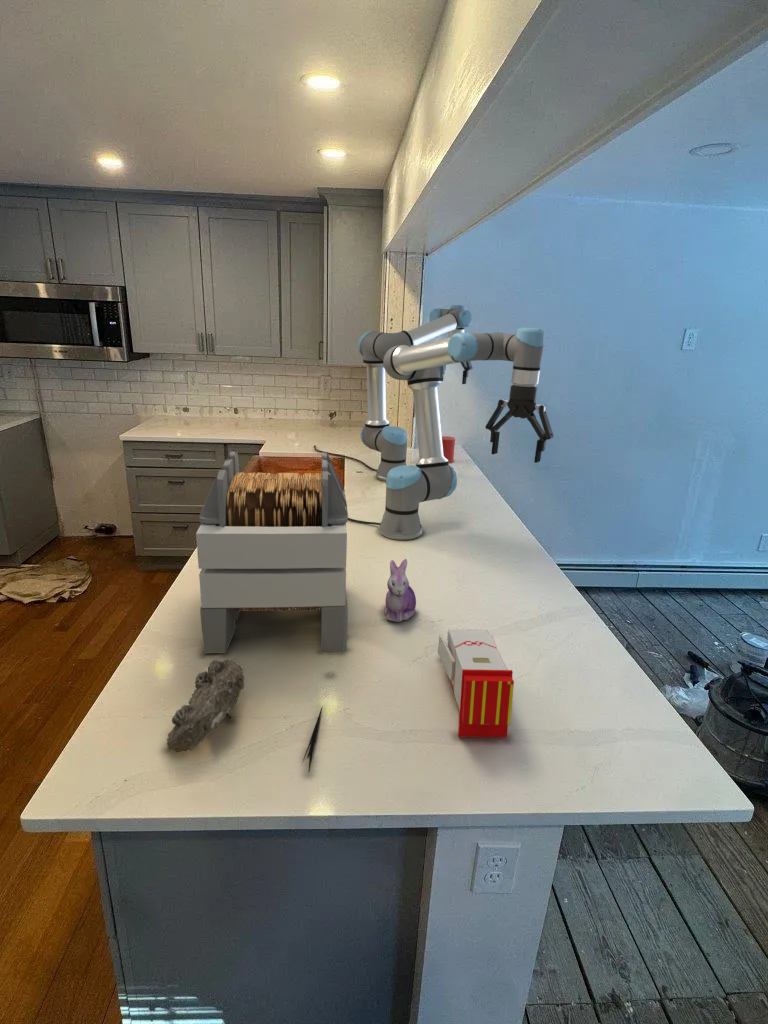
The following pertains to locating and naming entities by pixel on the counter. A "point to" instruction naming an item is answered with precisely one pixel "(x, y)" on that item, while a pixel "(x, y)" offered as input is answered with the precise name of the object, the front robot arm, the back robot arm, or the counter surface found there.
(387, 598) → the figurine
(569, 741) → the counter surface
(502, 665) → the toy
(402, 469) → the front robot arm
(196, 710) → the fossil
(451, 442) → the can
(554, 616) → the counter surface
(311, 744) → the feather
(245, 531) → the record crate
